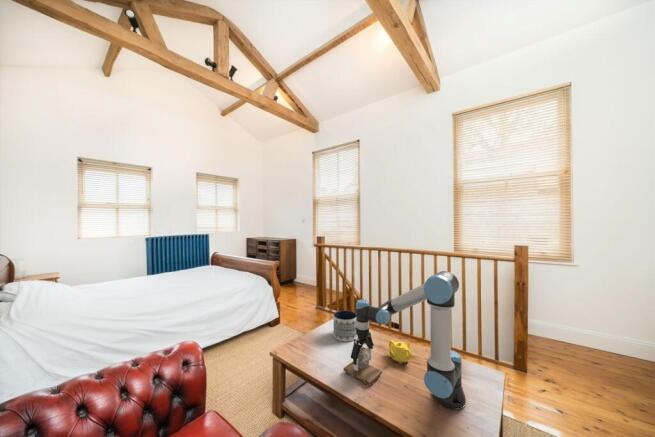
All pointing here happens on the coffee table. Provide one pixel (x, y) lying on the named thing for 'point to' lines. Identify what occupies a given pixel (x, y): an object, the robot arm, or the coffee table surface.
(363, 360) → the stone
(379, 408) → the coffee table surface
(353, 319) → the planter
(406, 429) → the coffee table surface
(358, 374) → the stand
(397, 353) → the teapot
